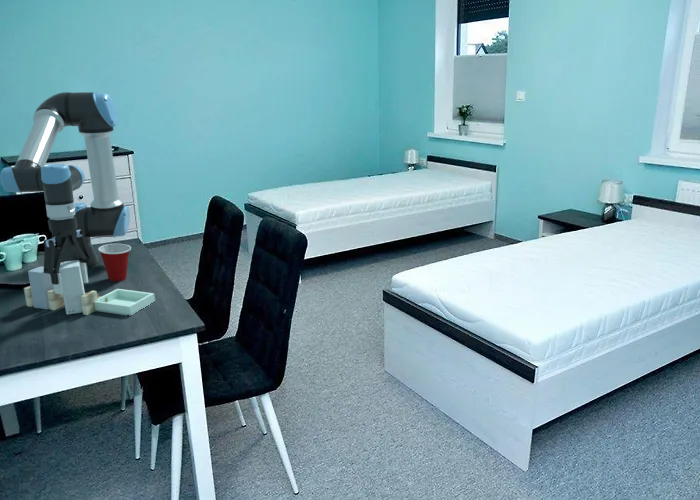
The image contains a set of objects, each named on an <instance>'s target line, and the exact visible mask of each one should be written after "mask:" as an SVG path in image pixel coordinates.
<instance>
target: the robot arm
mask: <svg viewBox="0 0 700 500" xmlns="http://www.w3.org/2000/svg"><path fill="white" fill-rule="evenodd" d="M32 120H33V125H32V127H31V129H30V132H29V134H28V136H27V138H26V140H25V142H24V144H23V147H22V149H21V152H20V154H19V156H18V157H17V161H16V162H15V165H14V166H8V167H4V168H2V169H1V171H0V184H1V186H2V188H3V190H4V191H6V192H9V193H11V192H12V193H35V192H36V193H40V192H43V195H44V196H43V197H44V201H45V202H44V203H45V209H46V216H47V218H48V219H47V223H48V229H49V232H51V238H50V239H44V240H43V246H44V256H43V259H44V260H43V267H44V273H47V274H50V275H51V282H52V284H53V285H54V292H55V294H64V290H63V283H62V277H61V273H59V268H60V264H61V262H67V261H74V260H79V262H80V268H81V274H82V279H83V284H88V283H89V277H88V270H89V269H88V268H89V267H92V266H94V265H96V264H97V263H98V262H99V256H98V254H97V253H96V251H95V249H94V247H93V244H92V240H91V238H116V237H117V238H118V237H124V236H125V235H126V234H127V233H128V230H129V227H130V222H131V221H130V218H131V212H130V208H129V206H127V205H125V204H124V200H123V199H121V198H119V192H118V187H117V179H116V170H115V163H114V156H113V155H114V154H113V149H112V148H113V147H112V142H111V135H112V134H113V132H114V131H115V130H114V127H117V125H118V112H117V108H116V105H115V103H114V100H113V99H112V97H111V96H110V95H109V94H108V93H106V92H95V91H94V92H91V91H90V92H89V91H88V92H85V91H83V92H78V91H77V92H70V91H69V92H68V91H67V92H65V91H64V92H59V93H56V94H53V95H52V96H50V97H48V98H47V99H45V100H44V101H43V102H42V103H41V104H39V106H38V107H37V108H36V110H35V112H34V113H33V116H32ZM66 127H77V128H78V133H80V135H82V136H83V137H84V143H85V149H86V156H87V163H88V169H89V170H88V171H89V176H90V182H91V188H92V196H93V200H92V201H91V202H90V206H88V205H87V204H86V203H85V202H77V203H76V202H75V200H74V193H73V192H74V191H76V190H78V189H80V188H81V187H82V186H83V184H84V183H85V180H86V176H85V173H84V171H83V170H82V168H80V167H79V166H78V165H74V164H70V165H67V164H66V163H49V164H47V161H48V158H49V156H50V154H51V152H52V148H53V146H54V143H55V141H56V138H57V136H58V135H59V134H58V133H61V132H62V131H63V130H64V128H66Z"/></svg>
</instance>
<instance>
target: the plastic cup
mask: <svg viewBox="0 0 700 500" xmlns="http://www.w3.org/2000/svg"><path fill="white" fill-rule="evenodd" d="M97 250H98V252H99V253H100V256H101V259H102V262H103V266H104V269H105V272H106V274H107V275H106V276H107V278H108V279H109V280H108V281H110V282H122V281H124V280H126V279H127V277H128V276H127V274H128V265H129V255H130V252H131V250H132V246H131V245H129V244H124V243H107V244H103V245H101V246H98V249H97Z"/></svg>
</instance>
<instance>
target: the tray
mask: <svg viewBox="0 0 700 500" xmlns="http://www.w3.org/2000/svg"><path fill="white" fill-rule="evenodd" d="M106 297H107V298H108V302H105V298H106ZM153 302H155V303H156V296H155V292H154V293H152V292H145V291H139V290H131V289H122V288H115V289H114V290H112V291H111V292H108V293H106V294H104V295H101V297H100V298H98V301H95V302H94V304H95V311H94V312H101V313H107V314H114V315H121V316H127V315H129V316H128V317H132V316H134V315H135V313H136V312H137V313H138V311H139V310H141V309H143V308H144V309H146V308H147V307H146V306H148V305H149V306H151V305H152V304H151V303H153ZM150 304H151V305H150ZM153 304H154V303H153ZM149 306H148V307H149ZM145 307H146V308H145ZM144 309H143V310H144ZM141 311H142V310H141ZM139 312H140V311H139ZM137 313H136V314H137ZM133 314H134V315H133ZM131 315H132V316H131Z"/></svg>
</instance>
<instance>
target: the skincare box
mask: <svg viewBox="0 0 700 500" xmlns="http://www.w3.org/2000/svg"><path fill="white" fill-rule="evenodd" d="M58 273H61V277H62V283H63V290H64V294H63V299H64V304H65V305H64V308H65V309H64V310H65V314H66V315H72V314H81V313H82V314H83V309H82V302H81V296H82V295H84V294H85V293H86V292H85V291H86V289H85V286H84V285H85V284H84V283H83V279H82V274H81V268H80V262H79V260H74V261H67V262H61V264H60V268H59V272H58Z"/></svg>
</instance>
